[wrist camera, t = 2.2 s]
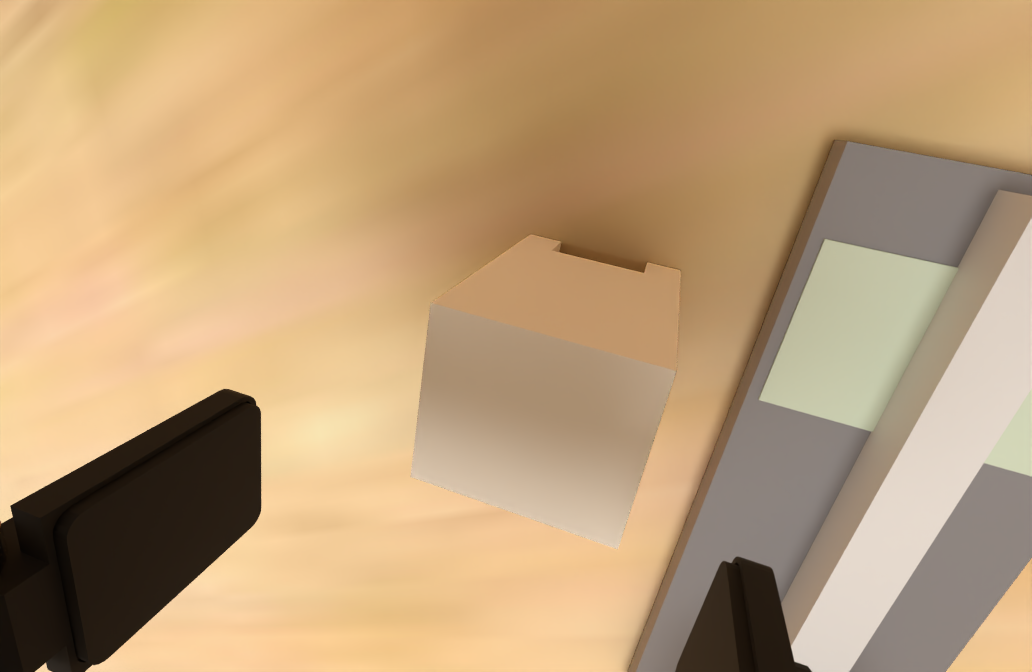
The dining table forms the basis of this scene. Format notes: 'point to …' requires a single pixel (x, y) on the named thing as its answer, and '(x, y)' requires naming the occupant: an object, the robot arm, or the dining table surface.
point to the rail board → (816, 453)
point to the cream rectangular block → (548, 386)
